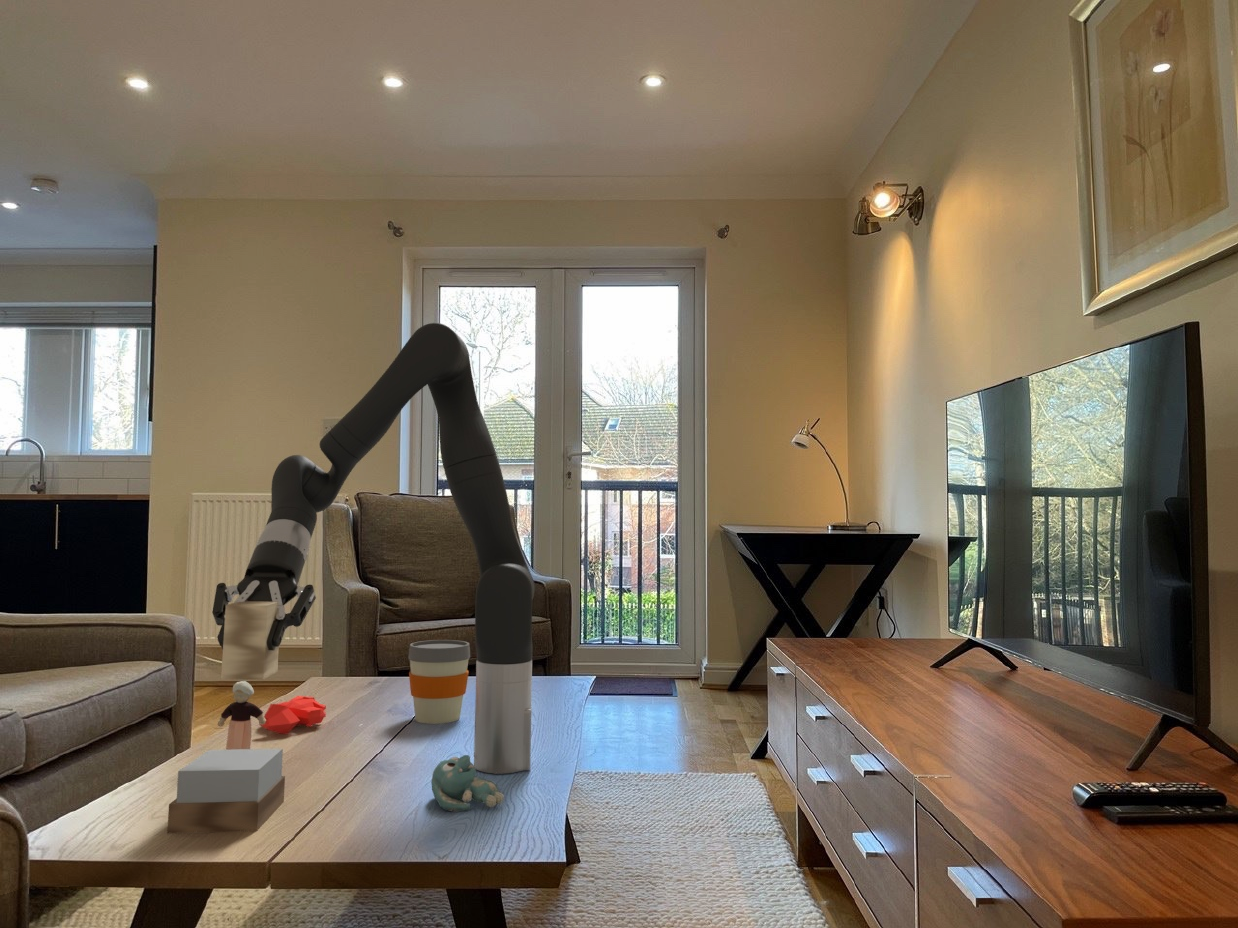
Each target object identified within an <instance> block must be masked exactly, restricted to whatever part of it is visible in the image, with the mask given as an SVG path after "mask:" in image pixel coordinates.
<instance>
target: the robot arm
mask: <svg viewBox="0 0 1238 928" xmlns="http://www.w3.org/2000/svg"><path fill="white" fill-rule="evenodd" d="M468 349H469V348H467V344H466V343H465V341H464V340H463V339H462V337H460V335H459V334H458V333H457V332H456V331H455V330H454V329H452V328H451V327H450V326H449V325H447V324H445V323H442V322H441V323H440V322H430V323H429V322H428V323H427V324H424V325H422V326H420V327H419V328H417V329H416V330H415V331H414V333H413V334H412V335H411V336H410V337H409V339H408V341H406V343H405V344H404V345H403V347H402V348H401V350H400V351H399V353H398V354H397V355H396V357H395V358H394V359H393V361H392V363H391V364H390V365H389V366H388V368H387V369H385V372H384V373H383V374H381V376H380V377H379V379H378V380H377V381H376V382H375V383H374V384H373V386H372V387H371V388H370V389H369V390H368V391H367V393H365V394H364V396H363V397H362V398H361V399H360V400H359V401H358V402H357V403H356V404H355V405H354V406H353V407H351V409H350V410H349V411H348V412H347V413H346V414H345V415H344V416H343V417H342V418H340V420H338V422H337V423H335V425H333V427H332V428H331V429H330V430H329V431H327V432H326V434H325V435H324V436H323V437H322V438H321V440H320V441H319V448H320V451H321V452H322V454H323V455H324V456H325V457H326V458H327V460H328V461H329V462H330V463H331V467H330V469H329V470H328V472H326V471H325V470H323V469H322V468H321V467H320V466H318V465H317V464H316V463H315V462H313V461H312V460H310V459H309V458H308V457H307V456H304V455H301V454H293V455H290V456H288V457H286V458H285V457H284V459H283V460H281V461H280V462H279V463H278V465H277V467H276V468H275V470H274V472H273V476H272V479H271V489H270V490H271V502H270V503H271V507H270V509H271V512H270V514H269V517H268V519H267V522H266V523H265V527H264V528H263V530H262V532H261V534H260V536H259V537H258V540H257V542H256V545H255V548H254V550H253V552H252V555H251V557H250V560H249V563H248V565H247V567H246V569H245V573H244V577H243V578H242V579H241V580H240V581H239V582H238V583H237V585H236V584H235V585H227V584H226V583H225V582H219V583H217V584H216V589H215V595H214V600H213V606H212V615H213V618H214V622H215V623H216V625H217V626H221V627H220V630H219V631H218V634H217V636H216V637H217V641H218V644H219V646H220V647H221V649H222V650H223V640H224V625H225V609H226V605H227V604H229V603H232V602H233V603H235V602H246V601H270V602H278V608H277V611H276V614H275V615H276V621H273V624H272V627H271V629H270V632H269V635H268V638H267V647H268V650H275V647H278V646H279V647H280V645H281V644H282V640H283V637H284V635H285V631H286V629H288V628H289V627H291V626H294V628H295V627H296V628H298V627H300V626H301V625H303V623H304V620H305V618H306V617H307V615H308V613H309V612H310V610H311V608H312V605H313V604H314V602H315V600H316V599H317V598H316V592H315V589H314V585H313V584H307V585H306V586H298V584H299V581H300V578H301V576H302V572H303V569H304V566H305V564H306V562H307V560H308V557H309V551H310V544H311V539H312V536H313V533H314V531H315V528H316V524H317V520H318V515H317V513H320V512H322V511H325V510H327V509H328V508H329V507H330V506H331V505H333V503H334V501H335V500H336V498H337V496H338V494H339V493H340V490H341V489H342V487H343V485H344V484H345V482H346V480H347V479H348V477H349V476H350V474H351V473H352V471H353V469H355V467H356V466H357V464H358V463H359V462H361V460H362V459H363V458H364V457H365V456H366V455H367V454H368V453H369V452H370V451H372V449H373V448H374V447H375V446H376V445H377V444H378V443H379V442H380V441H381V440H382V439H383V438H384V436H385V435H386V434H387V432H388V431H389V429H390V428H391V426H392V425H393V423H394V422H395V421H396V419H397V418H398V416H399V414H400V413H401V412H402V410H403V409H404V408H405V406H406V405H407V404H408V403H409V401H410V400H411V399H412V398H413V397H414V396H415V395H416V394H417V393H419V391H421V390H423V388H425V387H426V386H427V387H428V389H429V391H430V394H431V397H432V400H433V402H434V405H435V409H436V412H437V418H438V430H439V434H438V435H439V448H440V456H441V462H442V466H443V470H444V474H445V478H446V481H447V485H448V488H449V492H450V494H451V497H452V499H453V500H452V501H453V502H454V505H455V506H456V509H457V511H458V513H459V515H460V517H461V519H462V521H463V524H464V525H465V527H466V529H467V531H468V533H469V535H470V537H471V540H472V543H473V545H474V549H475V553H476V558H477V564H478V566H479V567H478V568H479V573H480V578H479V579H478V581H477V585H476V590H475V602H474V603H475V604H474V605H475V610H474V615H475V616H474V640H475V641H474V642H475V649H476V662H475V663H476V665H475V671H476V672H475V702H474V703H475V705H474V706H475V707H474V742H473V744H474V747H473V765H474V767H475V770H476V771H479V772H482V773H488V774H497V775H498V774H512V773H517V772H522V771H530V770H531V753H532V751H531V750H532V748H531V747H532V746H531V745H532V744H531V743H532V689H533V686H532V685H533V684H532V683H533V681H532V680H533V651H534V650H533V647H534V646H533V639H532V638H533V635H532V633H533V632H532V630H533V628H532V627H533V625H532V624H533V623H532V622H533V599H534V597H535V591H536V586H535V581H534V578H533V575H532V574H531V572H530V569H529V567H528V564H527V562H526V559H525V557H524V554H523V553H522V549H521V546H520V544H519V542H518V539H517V536H516V533H515V529H514V525H513V520H512V514H511V509H510V503H509V498H508V494H507V489H506V484H505V480H504V477H503V472H502V469H501V465H500V462H499V459H498V455H497V452H496V449H495V446H494V442H493V440H492V436H491V434H490V431H489V429H488V425H487V422H486V421H485V418H484V415H483V413H482V411H481V408H480V405H479V401H478V399H477V393H476V389H475V383H474V379H473V378H474V377H473V372H472V367H471V360H470V353H469V350H468ZM236 595H238V597H237V598H236V599H235V600H234V601H233V599H234V597H235V596H236ZM295 597H297V600H296V602H295V603H294V605H293V607H292V609H291V610H290V612H288V613H286V610H285V605H286V604H288V603H289V602H290V601H292V600H293V599H294V598H295Z"/></svg>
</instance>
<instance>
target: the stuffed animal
mask: <svg viewBox="0 0 1238 928" xmlns="http://www.w3.org/2000/svg"><path fill="white" fill-rule="evenodd" d="M430 781H431V790H432V791H431V792H432V794H433V796H434V798H435V800H436V802H437V803H438V805H439V806H440V808H442V809H444V810H445V811H450V812H455V813H458V812H462V811H470V809H471V808H470V807H471V804H470V803H469V802H470V801H471V800H472V801H474V802H476V803H480V804H481V803H483V804H484V805H486V806H487V807H489V808H494V807H495V806H496V804H498V805H500V804H501V803H502V802H503V801H504V797H505V796H504V794H503V793H502V792H499V791H500V789H499V787H498V784H497V783H495V781H493V780H491V779H488V778H484V777H480V776H476V769H475V767H474V763H472V762H471V756H470V755H468V754H464V755H462V756H460V757H457V756H453V757H451V758H449V759H446V760H445V759H444V760H442V761H440V762H439V763H438V764H437V765H436V767H435V768H434V769H433V771H432V777H431V780H430ZM461 800H462V801H461Z"/></svg>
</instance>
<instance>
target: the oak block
mask: <svg viewBox="0 0 1238 928" xmlns="http://www.w3.org/2000/svg"><path fill="white" fill-rule="evenodd" d="M277 608H278V602H270V601H246V602H235V603H234V602H230V603H228V604H227V605H226V609H225V625H224V640H223V649H222V659H221V674H220V675H221V676H220V680H242V681H246V680H250V681H251V680H254V681H257V680H258V681H261V680H263V681H264V680H265V679H267V678H269V677H270V676H272V675H274V674H276V673H277V672H278V671H279V670H278V669H279V668H278V665H279V664H278V663H279V652H280V648H279V647H280V645H279V646H278V647H275V650H268V647H267V638H268V635H269V632H270V629H271V627H272V624H273V621H276V615H275V614H276V611H277Z"/></svg>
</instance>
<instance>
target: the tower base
mask: <svg viewBox="0 0 1238 928" xmlns="http://www.w3.org/2000/svg"><path fill="white" fill-rule="evenodd" d="M285 785H286V776H284V775H282V778H281V779H280V780H279V781H278V782H277V783H276V784H275V785H274V786H273V787H272V788H271V789H270V790H269V791H268V792H267V793H266V794H265V795H264V796H263V797H262V798H260V799H259V800H258V801H248V802H206V803H176V801H177V798H175V799H174V800H172V801H171V802H170V803H168V811H167V812H168V814H167V815H168V817H167V832H166V833H167V834H191V833H195V834H196V833H197V834H198V833H229V832H230V833H231V832H232V833H233V832H234V833H235V832H258V831H259V829H261V827H263V825H264V824H265V823H266V822H267V821H268V820H269V819H270V817H271V816H273V814H274V813H275V812H276V811H277V810H278V809H279V808H280V807H281V805H283V803H284V802H285V787H286V786H285Z"/></svg>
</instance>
